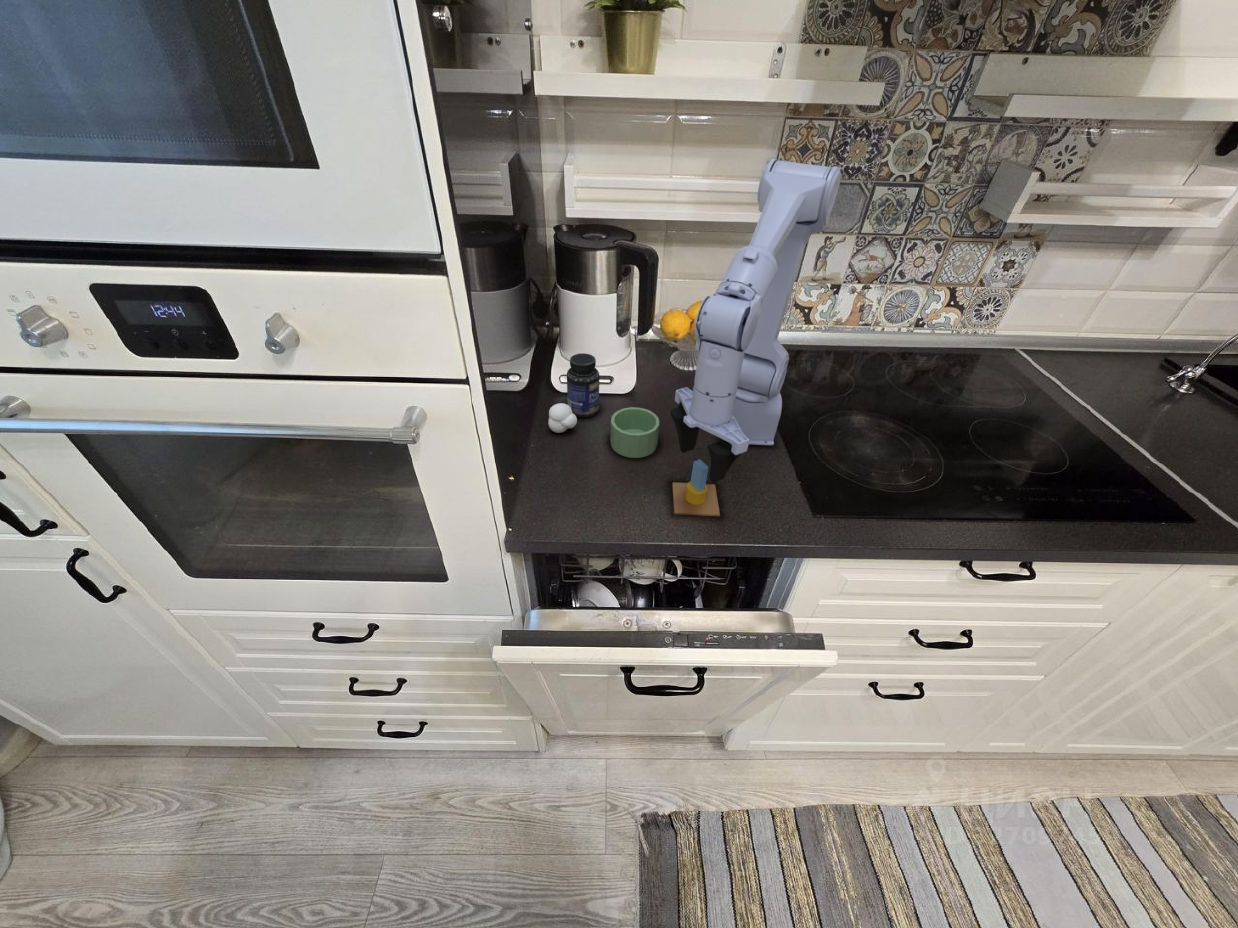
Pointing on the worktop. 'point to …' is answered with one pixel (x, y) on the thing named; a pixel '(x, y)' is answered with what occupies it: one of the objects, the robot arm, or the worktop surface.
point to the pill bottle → (583, 385)
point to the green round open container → (634, 432)
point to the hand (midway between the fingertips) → (701, 464)
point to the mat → (687, 508)
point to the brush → (697, 484)
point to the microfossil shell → (561, 418)
